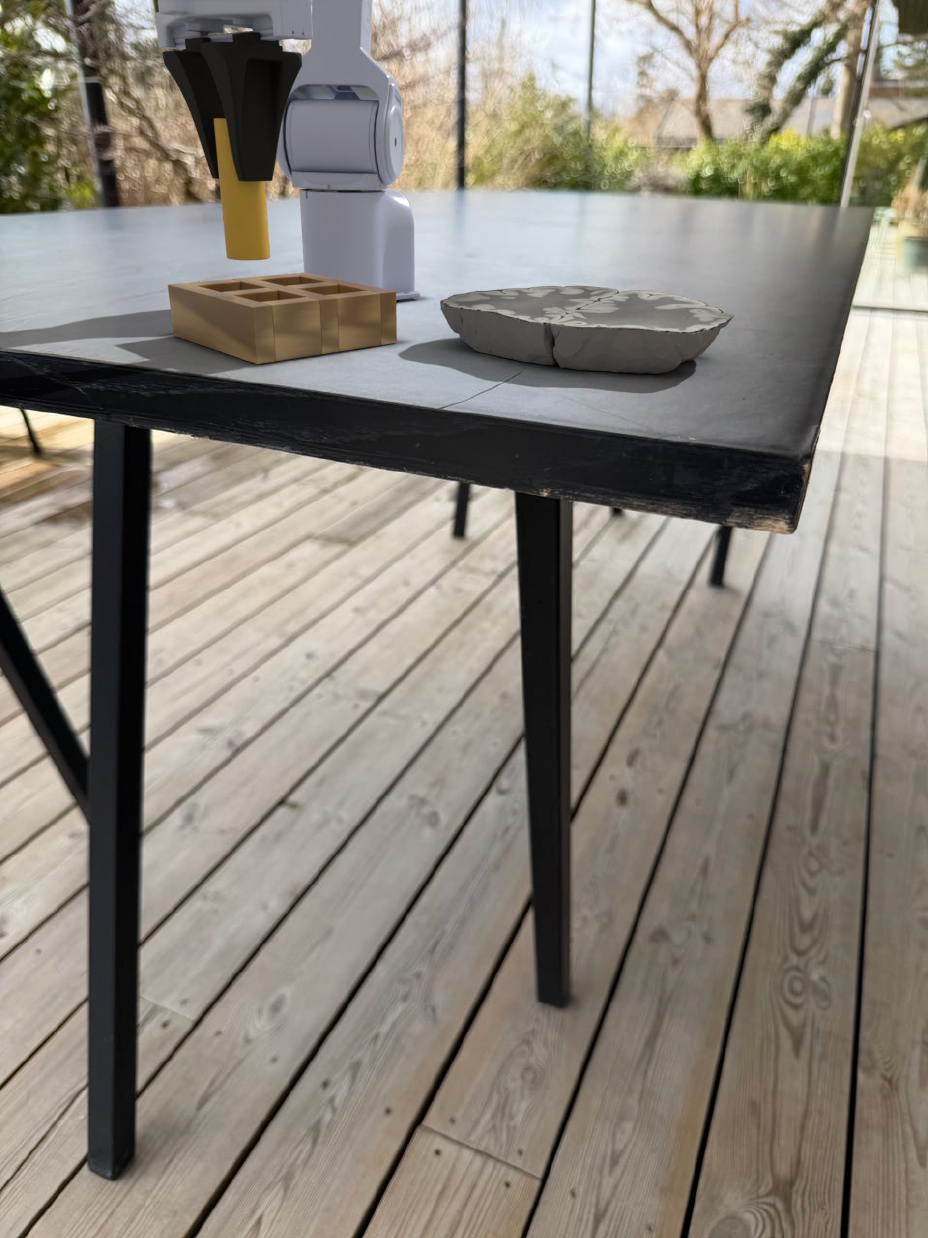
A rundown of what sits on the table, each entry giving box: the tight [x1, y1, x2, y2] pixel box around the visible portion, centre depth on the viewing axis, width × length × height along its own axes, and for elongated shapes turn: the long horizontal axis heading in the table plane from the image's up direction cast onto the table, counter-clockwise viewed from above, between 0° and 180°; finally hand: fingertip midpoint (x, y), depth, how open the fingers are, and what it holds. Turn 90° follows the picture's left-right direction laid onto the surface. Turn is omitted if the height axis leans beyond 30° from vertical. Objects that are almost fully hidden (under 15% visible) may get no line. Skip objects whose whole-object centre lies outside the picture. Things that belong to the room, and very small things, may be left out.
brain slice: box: [439, 285, 735, 375], centre depth 64 cm, size 20×17×3 cm
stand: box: [167, 272, 398, 365], centre depth 64 cm, size 11×11×4 cm
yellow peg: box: [214, 118, 271, 261], centre depth 58 cm, size 3×3×8 cm
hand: (241, 179), depth 58 cm, fingers closed on yellow peg, 3 cm apart
